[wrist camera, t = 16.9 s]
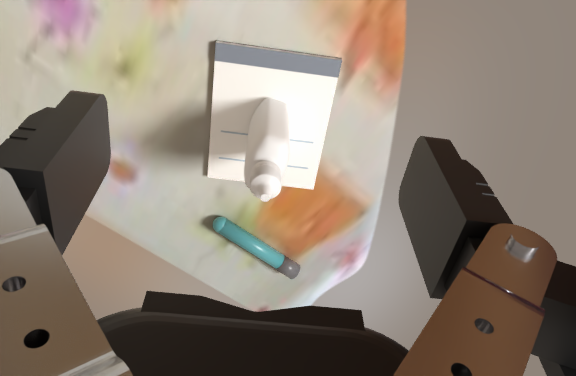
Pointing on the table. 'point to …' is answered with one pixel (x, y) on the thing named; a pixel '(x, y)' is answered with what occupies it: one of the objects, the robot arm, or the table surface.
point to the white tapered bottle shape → (267, 149)
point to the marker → (256, 247)
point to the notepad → (277, 85)
